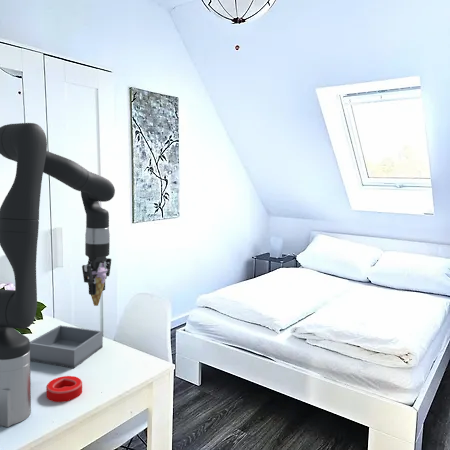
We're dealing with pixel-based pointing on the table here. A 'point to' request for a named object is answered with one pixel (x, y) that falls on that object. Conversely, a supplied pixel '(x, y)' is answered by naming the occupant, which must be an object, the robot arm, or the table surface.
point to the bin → (66, 346)
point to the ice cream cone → (98, 284)
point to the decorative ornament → (64, 389)
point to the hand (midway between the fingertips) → (97, 292)
